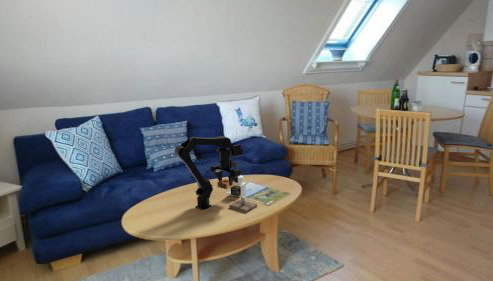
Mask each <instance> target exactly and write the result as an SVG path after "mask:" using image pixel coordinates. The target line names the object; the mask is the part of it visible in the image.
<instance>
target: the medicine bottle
mask: <svg viewBox="0 0 493 281" xmlns="http://www.w3.org/2000/svg"><path fill="white" fill-rule="evenodd" d="M233 181H234V185H235V186H233V187H231V188H230V196H234V197H238V198H242V197H243V196H244V195H246V194H247V182H244V176H243V175H242V174H240V175H237V176H235V178H234V180H233Z"/></svg>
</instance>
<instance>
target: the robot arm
mask: <svg viewBox="0 0 493 281" xmlns="http://www.w3.org/2000/svg"><path fill="white" fill-rule="evenodd" d="M198 145H199V146H217V149H216V150H215V151H216V152H217V153H219V160H218V163H219V164H214V165H211V166H210V168H209V170H210V172H212V173H213V174H214V175H215V176H216V178H217V180H218V182H219V181H221V180H223V172H224V173H228V174H229V175H227V179H228V180H229V184H230V186H231V185H232V183H233V180H234V178H235V176H237V175H242V169H241V168H237V165H238V162H234V161H233V159H231V157H232V158H236V157H242V156H243V154H244V150H243V147H242V145H241V144H235V145H234V144H233V143H232V141H231V138H230V137H227V136H224V135H219V136H215V137H205V136H204V137H201V136H199V137H197V136H190V137H189V138H188V139H187V140H185V141H184V142H182V143H181V144H180V145H177V146H176V147H175V148H174V154H175V155H176V156H177V157H178V158H179V159H180V160H181V161H182V162H183V163H184V164H185V166H186V168H187V169H188V171H189V172H190V174H191V175H192V176H193V177H194V179H195V181H196V183H197V186H198V187H197V189H196V190H195V195H196V196H197V197H196V200H197V202H196V203H197V205H195V208H197V209H199V210H200V209H201V210H203V211H204V210H207V209H208V208H210V207H212V204H210V198H211V194H212V193H213V191H214V189H213V186H214V185H213V184H212V182H211V180H209V179H208V178H207V177H204V176H203V175H202V174H201V172H200V170H199V169H198V167H197V166H196V164H195V163H194V161H193V160H192V155H191V154H190V153H191V152H192V151H193V150H194V148H195V147H196V146H198Z"/></svg>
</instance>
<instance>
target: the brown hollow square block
mask: <svg viewBox="0 0 493 281" xmlns="http://www.w3.org/2000/svg"><path fill="white" fill-rule="evenodd" d="M216 184H217V188H220V189H224V190H229V189H231V187H233V186H235V185H234V181H233V183H232V185H231V186H230V184H229V179H228V178H224V179H223V178H222V180H221V181H219V180H218V181H217V183H216Z"/></svg>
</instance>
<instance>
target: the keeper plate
mask: <svg viewBox="0 0 493 281" xmlns="http://www.w3.org/2000/svg"><path fill="white" fill-rule="evenodd" d="M240 198H241V199H239V200H237V201H234V202H232V203H231V204H230V205H228V207H229V209H232V210H235V211H239V212H242V213H245V214H247V213H249V212H251V211H252V210H254V209H256V208H257V207H258V204H257V203H254V202H251V201H250V202H249V201H246V199H245V198H246V197H243V196H241V197H240Z"/></svg>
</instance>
